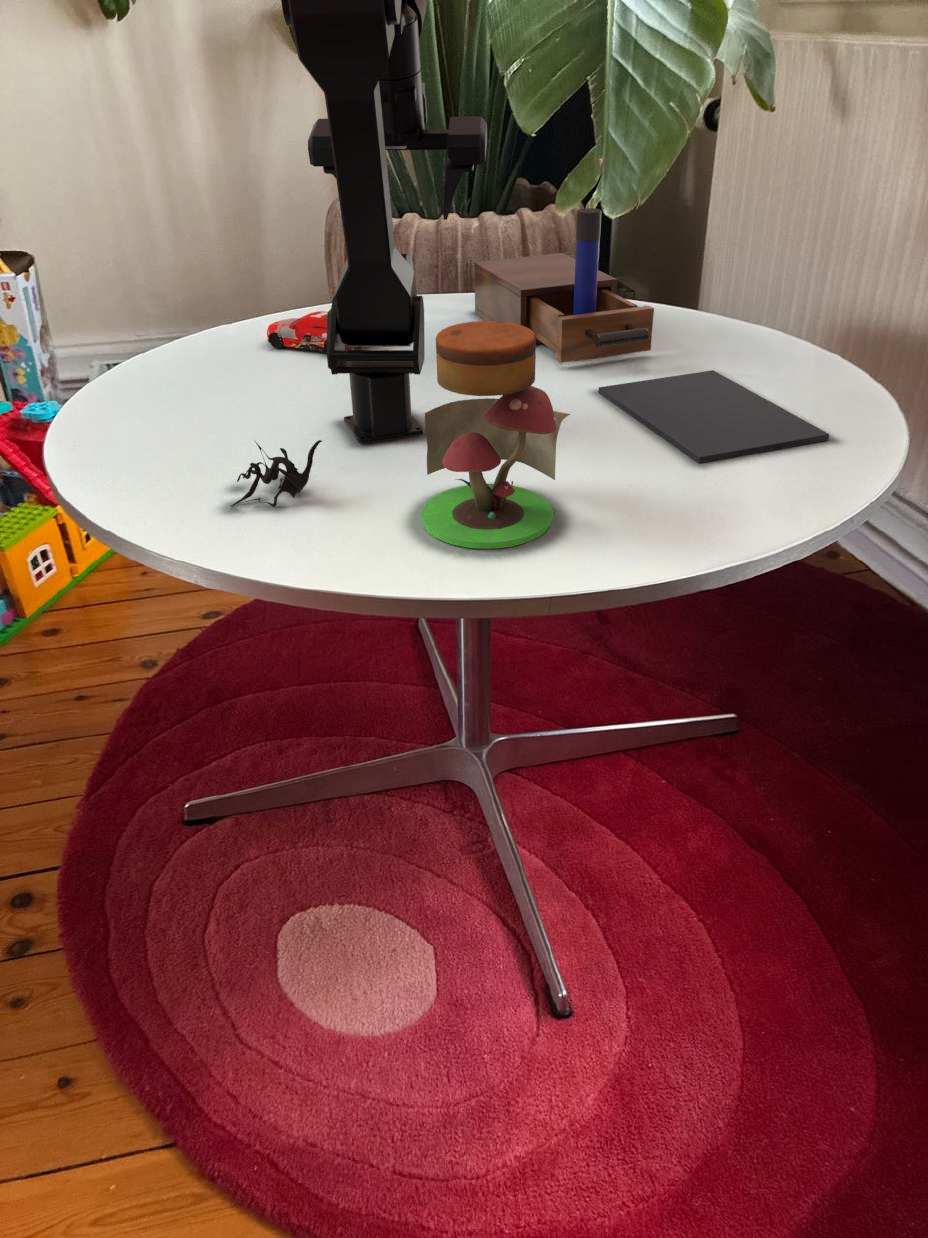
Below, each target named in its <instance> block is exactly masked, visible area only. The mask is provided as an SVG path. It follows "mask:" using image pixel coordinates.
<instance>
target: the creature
mask: <svg viewBox="0 0 928 1238" xmlns="http://www.w3.org/2000/svg"><path fill="white" fill-rule="evenodd" d="M253 441H254V443H255V444H256V445H257V447H258V449H259V451H260V454H261V456H262V459H263V462H264V463H263V462H261V461H259V462H250V463H249V467H248V468H247V470H246V471H245V473H244V472H241V473H240V474H239V475H238V478H237V480H236V483H238V482H239V481H240V480H241V478H242V479H243V480H244V479H246V480H249V479H250V478H251V476H252V475H255V479H254V481H253V482H252V484H251V485H250V488H249V490H248V491H247V493H246V494H245V495H243V496H242V497H241V498H240V499H238V500H237V501H236V502H234V503H233V504H231V505H230V507H233V506H235V505H238V504H242V503H247V502H252V501H259V503H260V504H267V505H269V506H270V507H272V508H275V507H277V504H278V497H280V495H281V494H282V493H287V494H289V495H290V496H291V497H292V498H293V499H295V497H296V495H297V494H299V493H301V491H303V489H304V488H305V487H306V485H307V484H308V481H309V478H310V473H311V470H312V467H313V460H314V454H315V451H316V449H317V447H318V445H320V443H323V440H322V439H318V440H316V441H315V442H314V444H312V446H311V447H310V449H309V451H308V454H307V459H306V460H307V461H306V465H305V467H304V470H303V472H299V471H298V468H297V467H296V466H295V463H294V462H293V461H291V460H290V459H289V456H288V452H287V450H286V449H285V448H283V447H280V448H279V450H280V452H281V453H282V454H283V456H274V457H270V456H268V454H267V453H266V452H265V450H264V449H263V447H261V445H260V444H259V443H258V442H257V441H256V440H255V439H253ZM263 453H264V454H265V456H266V457H267V459H268V460H270V461H272V464H271V466H270V467H269V466H268V465H267V463H266V460H265V458H264V455H263ZM280 464H282V465H283V466H284V467H285V469H282V468H281V467H280ZM260 465H263V466H264V467H265V470H264V471H265V472H264V474H263V473H262V469H261V467H260ZM280 473H281V474H282V476H283V477H281V478H279V474H280ZM241 476H242V477H241ZM278 478H279V482H280V483H279V485H278V487H277V490H278V491H277V493H276V494H275V496H274V497H273V503H272V502H269V501H263V502H261V499H262V498H261V497H258V498H253V499H250V500H247V499H249V498H250V497H252V496H253V495H254V493H255V492H256V490H257V487H258V486H259V482H260V480H261V481H262V483H263V484H265V485H269V484H271V483H272V481H277V479H278ZM283 478H284V479H283Z"/></svg>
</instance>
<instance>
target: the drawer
mask: <svg viewBox="0 0 928 1238" xmlns="http://www.w3.org/2000/svg"><path fill="white" fill-rule="evenodd" d="M573 308H574V291H567V292H558V293H550V294H541V295H533V296H527V316H526V327H527V328H529V329H531V330H532V331H533V332H534V334H535V336H536V339H538V340H539V341H541V342H542V343H541V344H543V345H545V346H546V347H548V348H549V349H551V350H552V351H554V352H555V353H556V354H555V355H556V357H555V358H556V361H557V362H559V363H560V364H563V363H569V362H577V361H583V360H591V359H597V358H604V357H612V356H618V355H625V354H632V353H640V352H647V351H651V350H652V349H651V348H652V338H653V327H654V326H653V325H654V315H655V307H652V306H650V305H642V306H638V304H636V303H635V302H632V301H630V300H628V299H626V298H624V297H622V296H620V295H618V294H617V293H616V294H614V293H612V292H610V291H608V290H606V289H604V288H603V287H600V288H597V298H596V312H595V313H587V314H579V315H573Z"/></svg>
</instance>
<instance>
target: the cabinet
mask: <svg viewBox="0 0 928 1238" xmlns="http://www.w3.org/2000/svg"><path fill="white" fill-rule="evenodd" d="M575 259H576V258H574V257H572V256H570V255H568V254H566V253H564V252H556V253H548V254H537V255H528V256H527V255H526V256H519V257H509V258H500V259H489V260H482V261H474V263H473V264H474V266H473V267H474V314H476V315H477V316H478V317H479V318H481V319H483V321H501V322H509V323H514V324H519V325H522V326H525V327H526V316H527V296H533V295H541V294H550V293H558V292H567V291H574V283H575ZM617 284H618V279H617V278H616V277H613V276H611V275H609V274H607V273H606V272H603V271H601V270H599V269H598V279H597V288H600V287H603V288H604V289H606V290H608V291H610V292H612V293H614V294H616V295H617V286H618V285H617ZM537 344H543V343H542V342H541V341H539V340H538V339H536V345H537Z"/></svg>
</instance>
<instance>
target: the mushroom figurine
mask: <svg viewBox="0 0 928 1238" xmlns="http://www.w3.org/2000/svg"><path fill="white" fill-rule="evenodd" d="M536 350H537V344H536V336H535V334H534V332H533V331H532V330H531V329H529V328H527V327H525V326H522V325H519V324H514V323H509V322H501V321H485V320H477V321H475V320H474V321H467V322H460V323H457V324H454V325H449V326H447V327H445V328H443V329H441V330H440V331H439V332H437V335H436V336H435V353H436V356H435V359H436V381H437V384H438V385H439V386H440V387H441V388H443V389H444V390H447V391H449V392H451V393H455V394H458V395H465V396H471V397H472V396H473V397H493V398H471V399H461V400H455V401H451V402H448V403H444V404H442V405H439V406H437V407H434V408H432V409H430V410H428V411H426V412H424V429H425V430H424V431H425V438H426V445H427V446H426V447H427V448H426V450H427V451H426V475H427V476H428V475H431V474H433V473H435V472H438V471H441V470H443V469H446V470H447V471H451V472H454V473H468V480H469V481H467V480H466V479H463V478H457V479H455V481H461V482H463V483H464V484H466V485H461V486H456V487H453V488H452V487H451V488H450V489H446V490H444V491H441V492H439V493H437V494H436V495H434V496H432V497H431V498H429V499H428V500H427V501H426V502H425V504H424V505H423V507H422V510H421V523H422V526H423V528H424V529H425V530H426V531H427V533H429V534H430V535H431V536H433V537H434V538H435V539H438V540H440V541H442V542H444V543H447V544H450V545H452V546H453V545H454V546H457V547H462V548H470V549H487V550H488V549H503V548H509V547H514V546H518V545H519V546H520V545H522V544H525V543H526V544H527V543H528V542H530V541H533V540H536V539H537V538H539V537H540V536H542V535H543V534H545V533H546V532H547V531H548V530H549V528H550V527H551V525H552V522H553V512H554V511H553V507H552V505H551V504H550V502H549V501H547V499H546V498H544V496H542V495H540V494H538V493H537V492H534V491H532V490H530V489H527V488H524V487H520V486H515V485H514V481H513V480H511V483H510V482H509V481H508V480H507V479H508V475H509V472H510V469H511V468H512V467H513V466H514V464H516V462H518V463H521V464H524V465H526V466H529V467H530V468H532V469H534V470H536V471H538V472H540V473H541V474H543V475H545V476H546V477H548V478H550V479H551V480H554V481H556V463H557V462H556V460H557V459H556V458H557V441H558V435H559V431H560V429H561V428H560V427H561V424H562V422H563V420H565V419H566V418H567V417H569V416H570V415H571V413H567V412H561V411H555V410H554V408H553V405H552V401H551V399H550V396H549V395H548V394H547V393H546V391H544V390H543V389H541V388H539V387H535V386H532V385H533V384H534V383H535V381H536V359H537V358H536V354H537V353H536V352H537V351H536ZM495 396H499V398H494V397H495ZM502 460H504V463H502V464H501V462H502ZM499 465H501V466H500V468H499V470H498V472H497V475H496V477H495V479H494V481H493V483H487V481H486V479H485V477H484V475H483V473H484V472H490V471H492V470H495V469H496V468H498V467H499Z"/></svg>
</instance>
